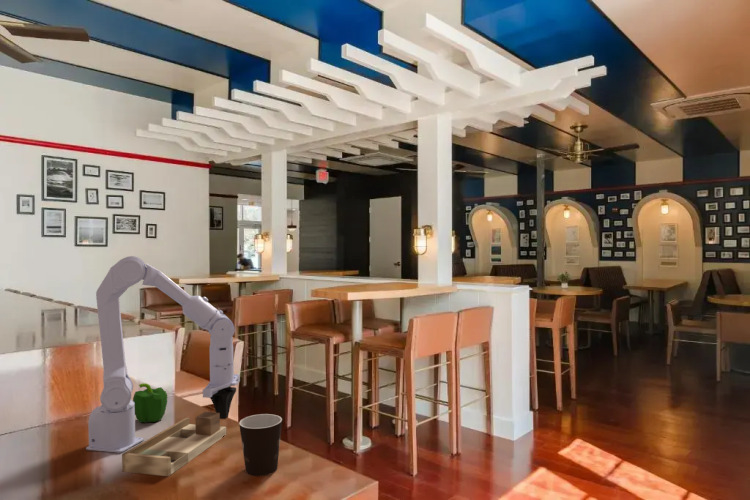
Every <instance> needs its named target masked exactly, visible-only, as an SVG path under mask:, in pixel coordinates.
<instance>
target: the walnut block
mask: <svg viewBox="0 0 750 500" xmlns="http://www.w3.org/2000/svg"><path fill="white" fill-rule="evenodd" d="M194 423H195V425H196V434H197V435H209V436H211V435H213V434H214V433H216V432H217V431H219V430H220V426H221V419H220V413H216V412H211V411H204V412H202V413H200V414H199V415H197V416H195V422H194Z"/></svg>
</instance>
